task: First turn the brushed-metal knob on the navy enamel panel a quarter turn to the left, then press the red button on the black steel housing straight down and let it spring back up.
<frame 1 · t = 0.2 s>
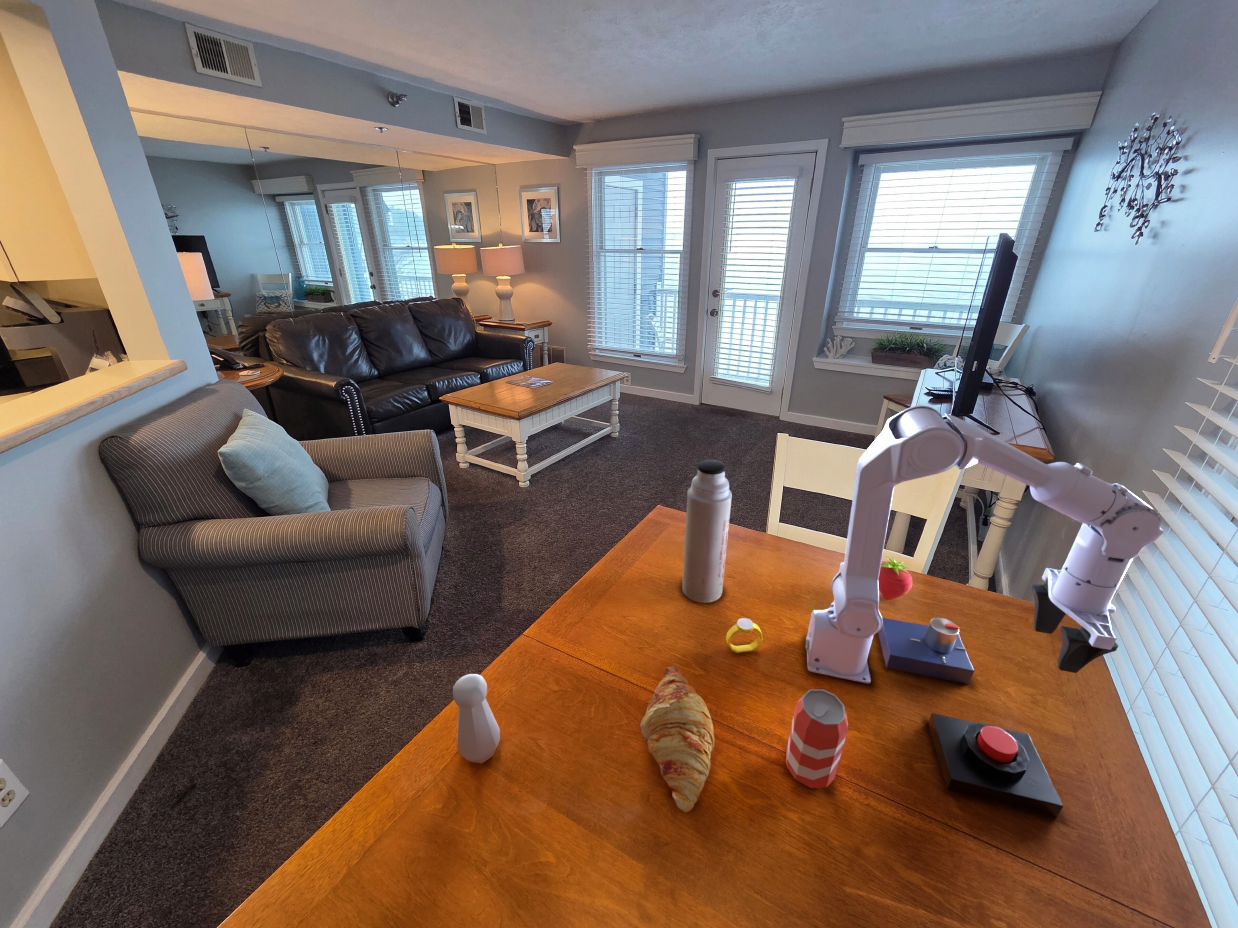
hand: (1054, 649, 73), 10 cm above the table, tool pointing down, fingers open, 7 cm apart
salt shaker: (481, 750, 70), on the table
dial panel: (920, 655, 85), on the table
croissant: (675, 741, 71), on the table
start button: (997, 743, 66), point 4 cm above the table, slide at 0.1 cm
thermos bottle: (702, 590, 101), on the table
beverage can: (808, 769, 68), on the table
strawberry: (885, 599, 98), on the table
dial knob: (941, 634, 82), point 5 cm above the table, hinge at 0.0°
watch: (742, 650, 87), on the table
button box: (986, 765, 68), on the table
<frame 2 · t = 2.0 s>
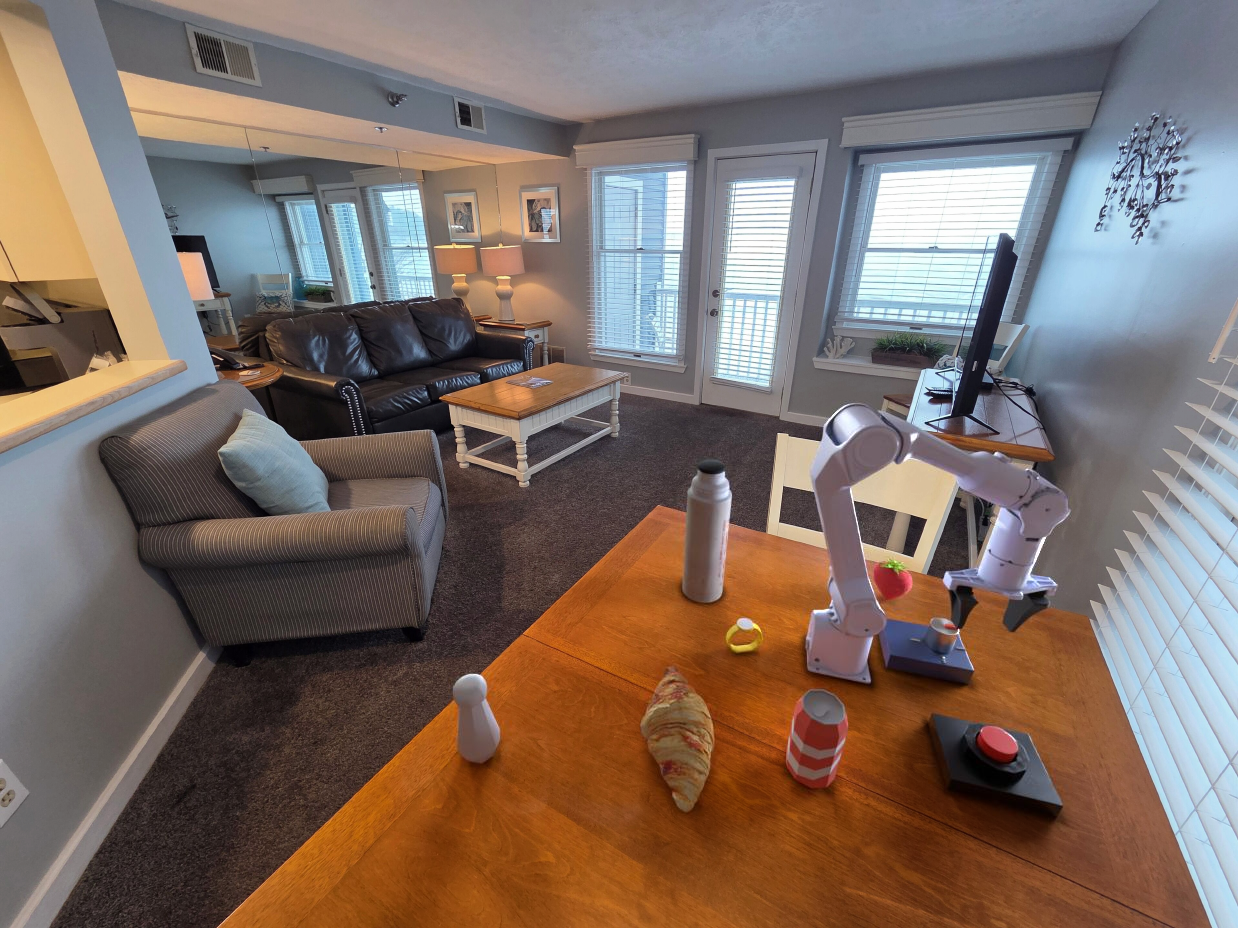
hand: (982, 625, 78), 10 cm above the table, tool pointing down, fingers open, 7 cm apart
nothing on the table moved.
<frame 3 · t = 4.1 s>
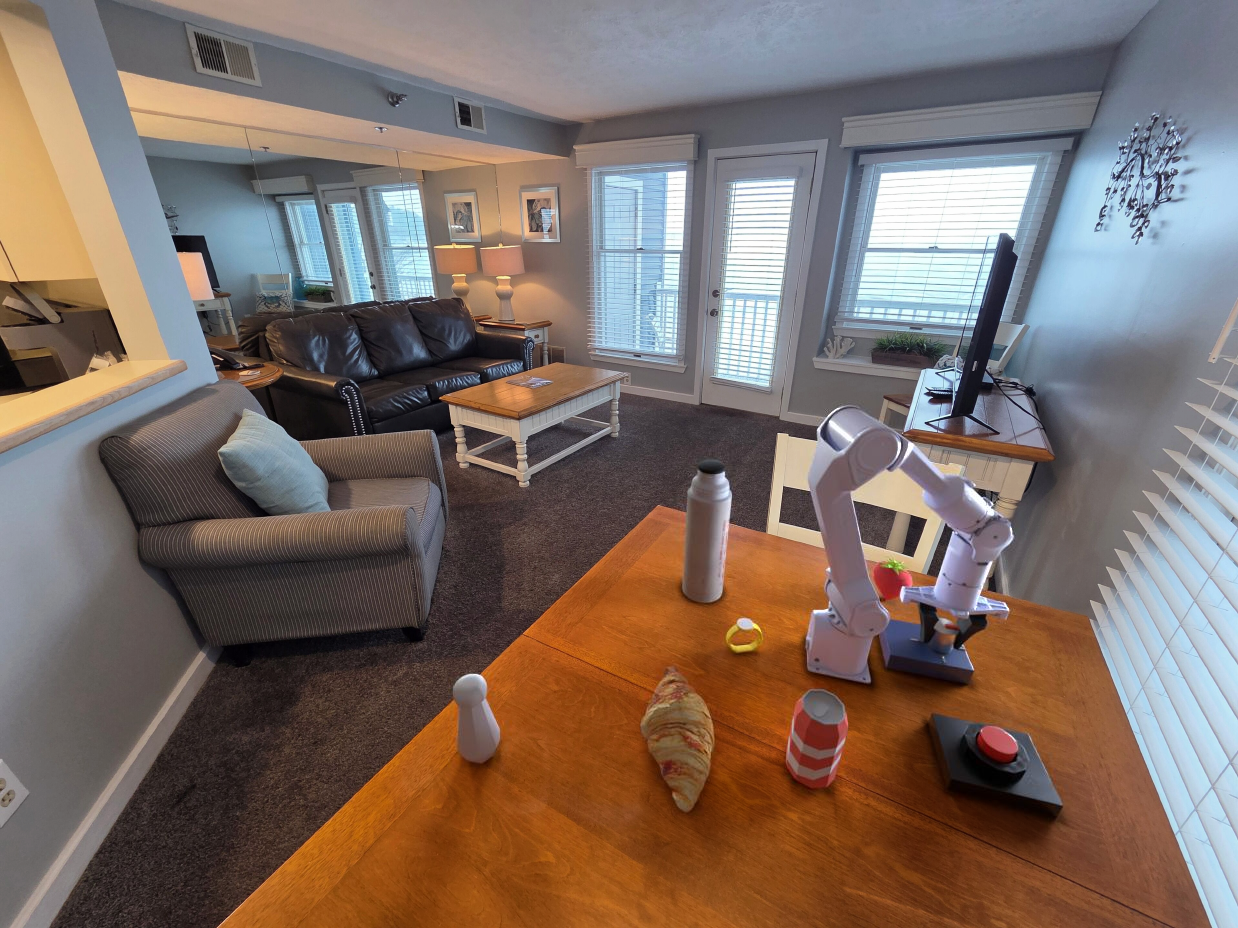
hand: (938, 641, 83), 4 cm above the table, tool pointing down, fingers closed on dial knob, 4 cm apart
dial knob: (941, 634, 82), point 5 cm above the table, hinge at 0.0°, touching gripper
everything else where it was.
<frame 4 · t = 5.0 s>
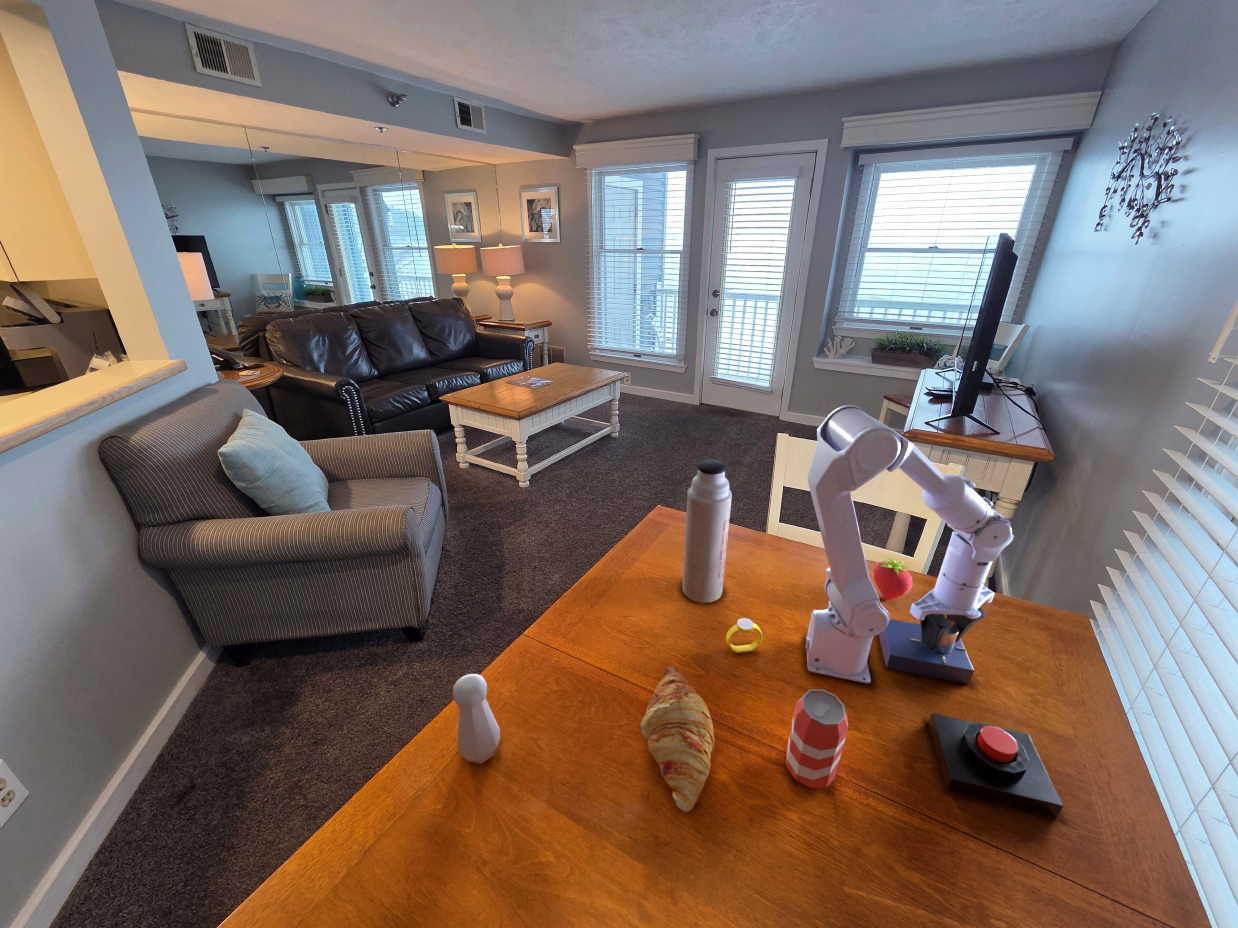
hand: (938, 641, 83), 4 cm above the table, tool pointing down, fingers closed on dial knob, 4 cm apart
dial knob: (941, 634, 82), point 5 cm above the table, hinge at 32.7°, touching gripper
everything else where it was.
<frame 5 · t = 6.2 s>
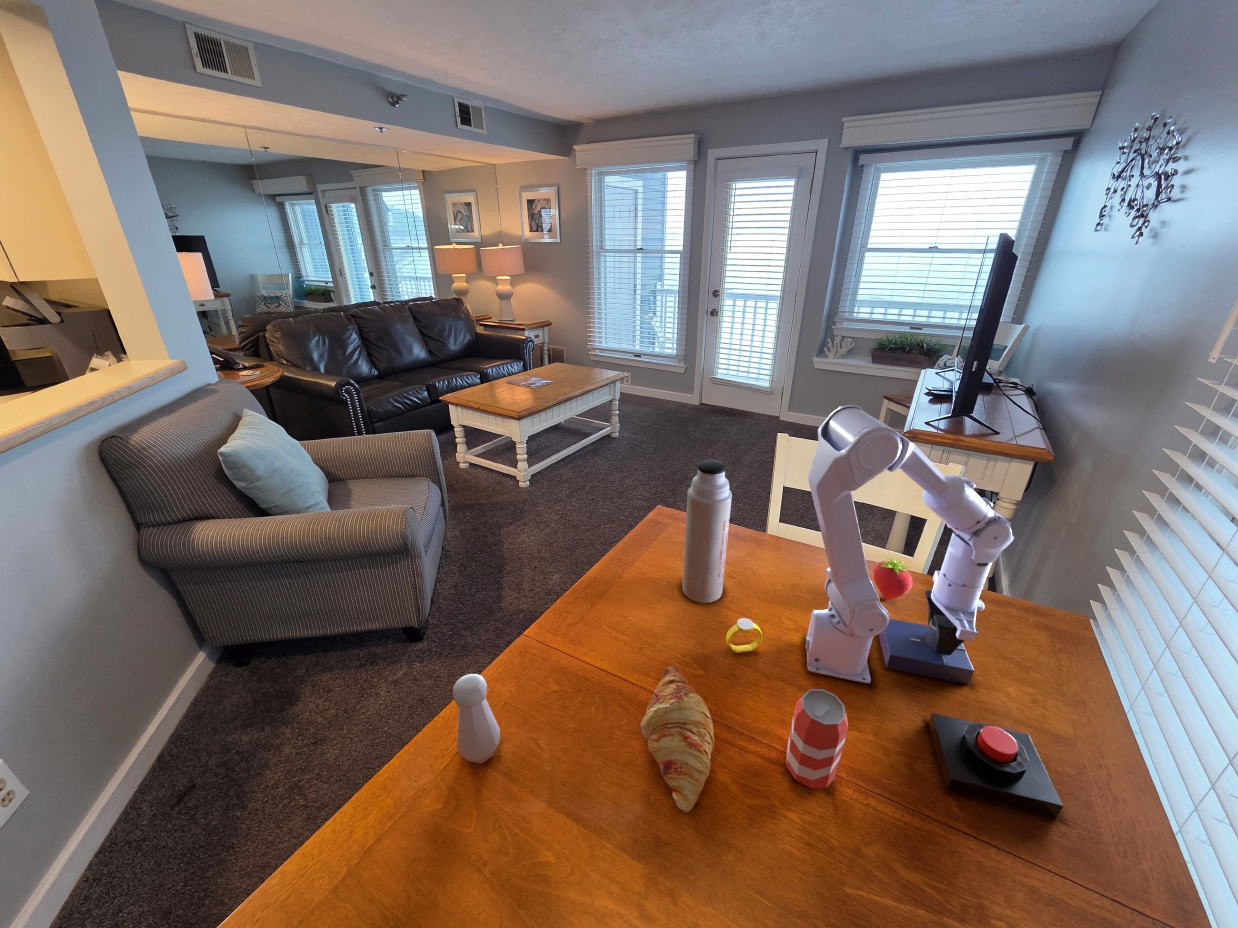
hand: (939, 642, 83), 3 cm above the table, tool pointing down, fingers closed on dial knob, 4 cm apart
dial knob: (941, 634, 82), point 5 cm above the table, hinge at 90.6°, touching gripper
everything else where it was.
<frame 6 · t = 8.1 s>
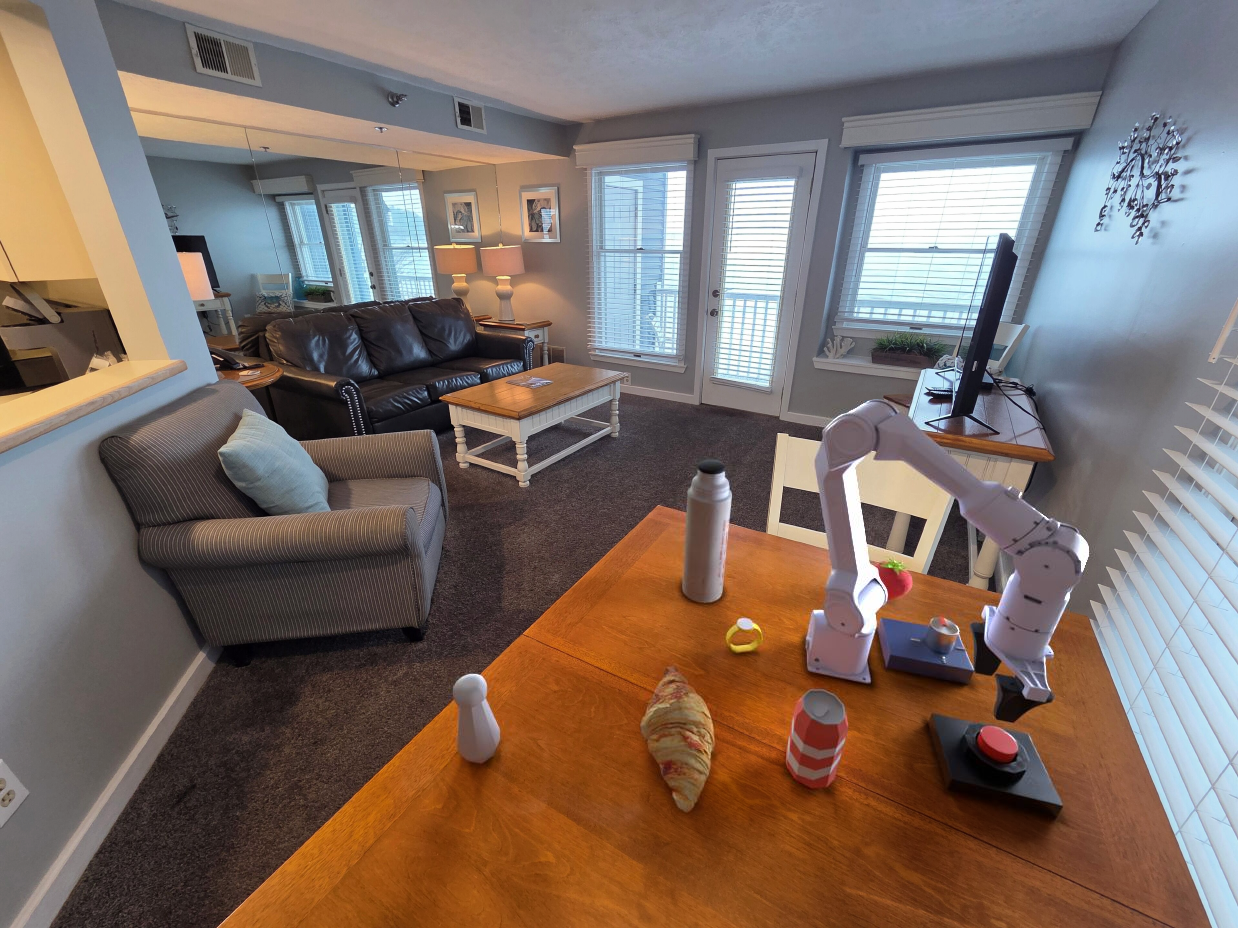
hand: (992, 694, 68), 9 cm above the table, tool pointing down, fingers open, 7 cm apart
dial knob: (941, 634, 82), point 5 cm above the table, hinge at 90.2°
everything else where it was.
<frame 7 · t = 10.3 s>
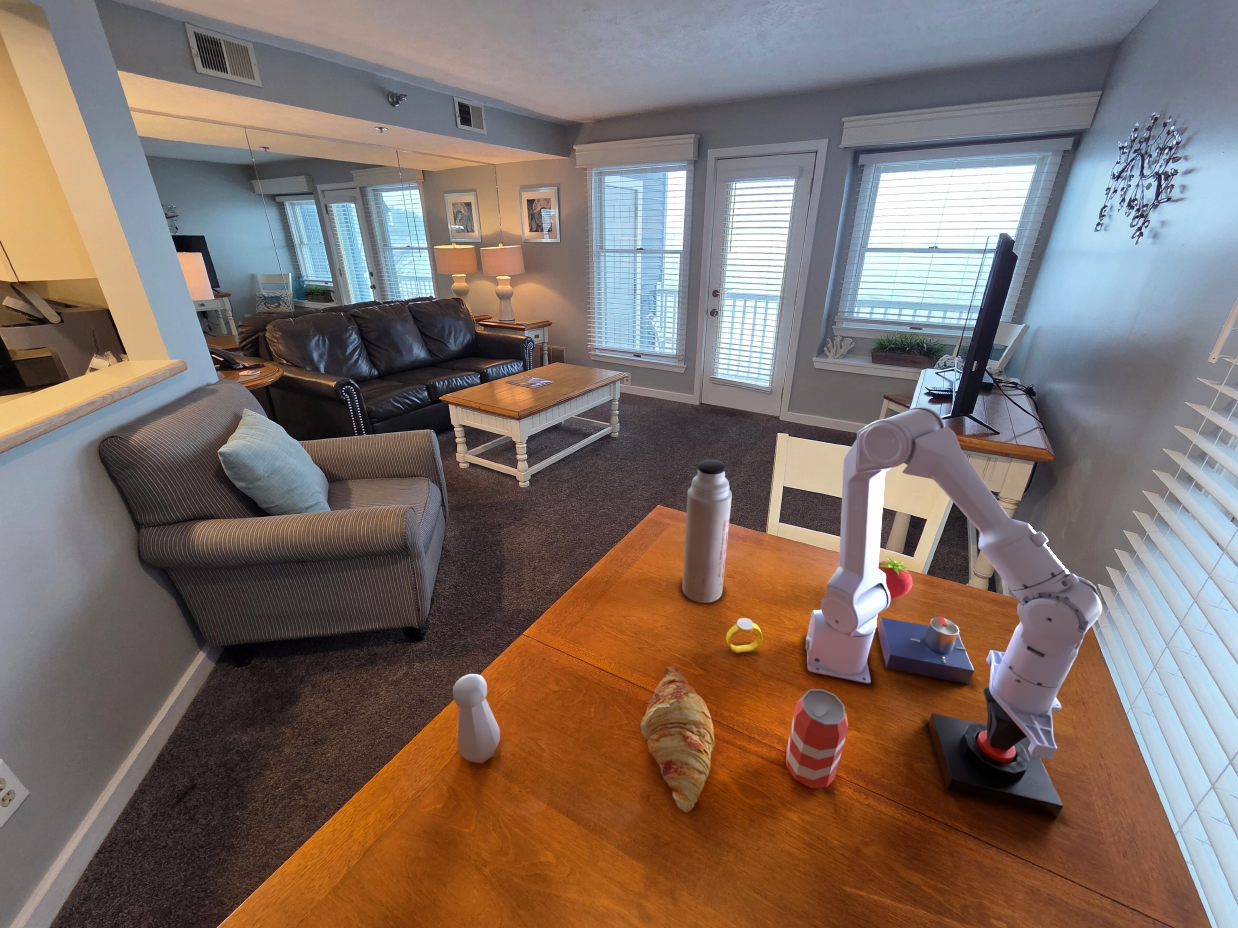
hand: (997, 743, 66), 4 cm above the table, tool pointing down, fingers closed, pressing on start button
start button: (995, 748, 66), point 4 cm above the table, slide at -0.7 cm, touching gripper
everything else where it was.
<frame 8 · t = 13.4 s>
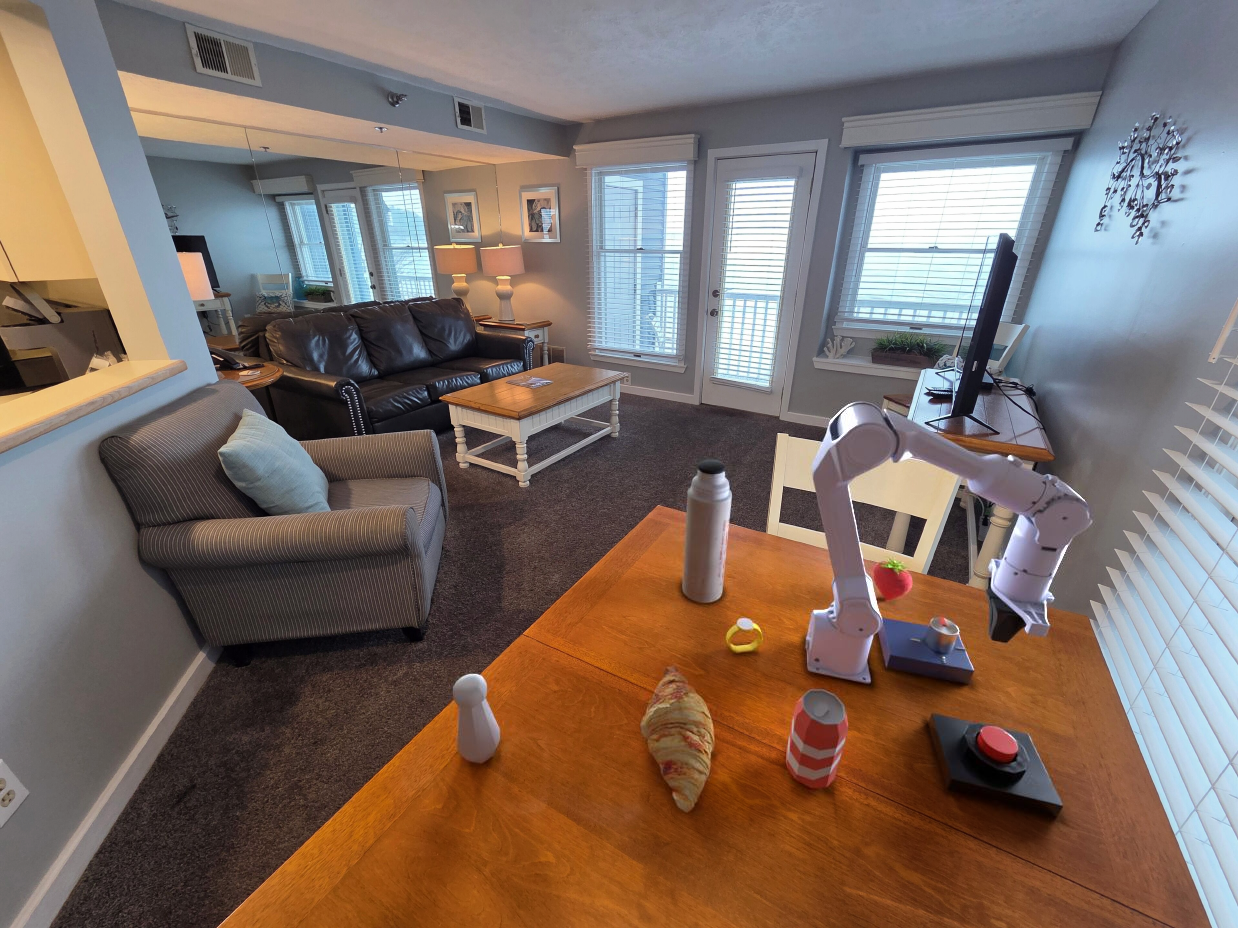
hand: (997, 638, 74), 10 cm above the table, tool pointing down, fingers closed
start button: (997, 743, 66), point 4 cm above the table, slide at 0.1 cm
everything else where it was.
at the end: dial knob at +90° (first picture: +0°); start button pushed in 1.1 cm at the most during the clip, back to where it started at the end; start button slide at 0.1 cm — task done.
